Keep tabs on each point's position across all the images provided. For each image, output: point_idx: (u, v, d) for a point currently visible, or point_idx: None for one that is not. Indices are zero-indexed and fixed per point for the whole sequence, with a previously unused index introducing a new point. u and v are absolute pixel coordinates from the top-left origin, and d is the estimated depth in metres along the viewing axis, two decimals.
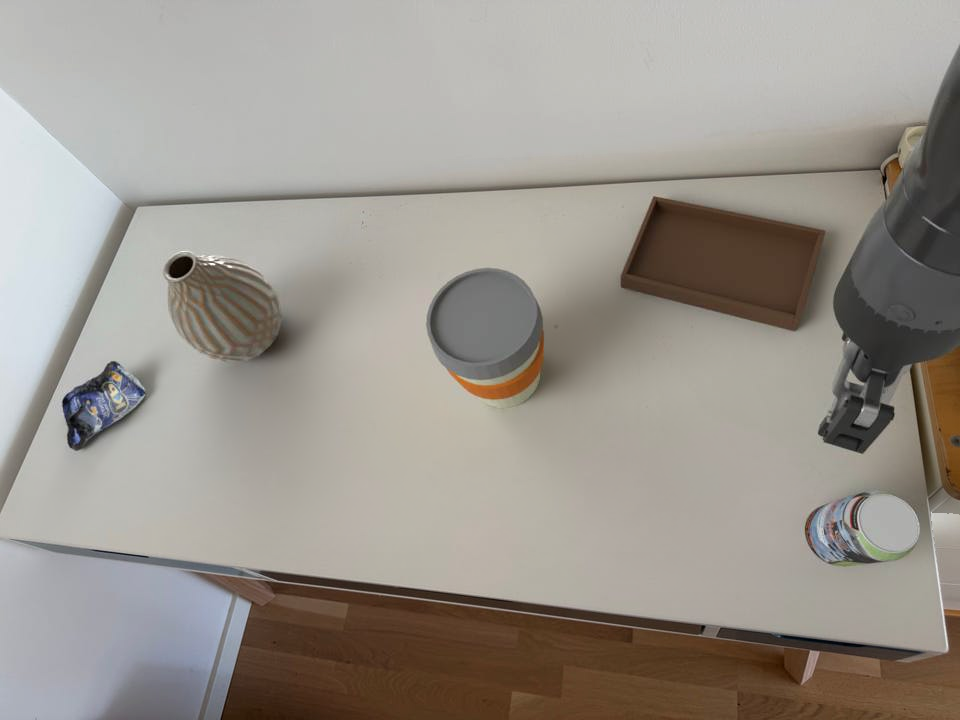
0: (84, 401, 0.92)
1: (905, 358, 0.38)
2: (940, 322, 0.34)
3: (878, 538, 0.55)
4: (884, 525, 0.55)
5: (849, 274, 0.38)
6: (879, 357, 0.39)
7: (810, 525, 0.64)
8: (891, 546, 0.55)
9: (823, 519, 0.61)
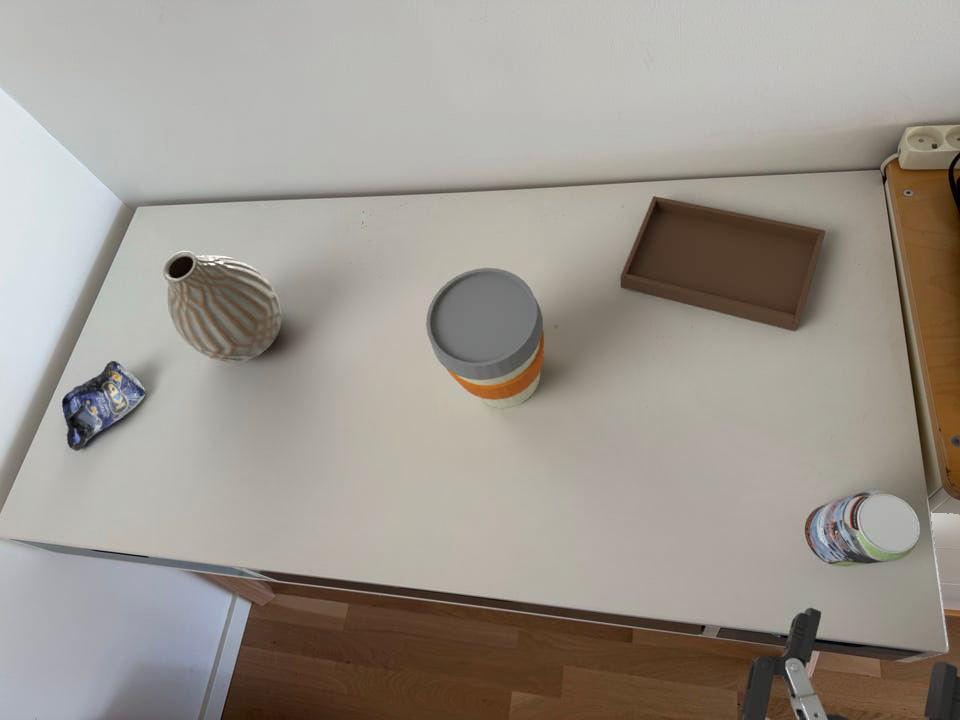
0: (84, 400, 0.92)
1: None
2: None
3: (878, 538, 0.55)
4: (884, 525, 0.55)
5: None
6: None
7: (810, 525, 0.64)
8: (891, 546, 0.55)
9: (823, 519, 0.61)
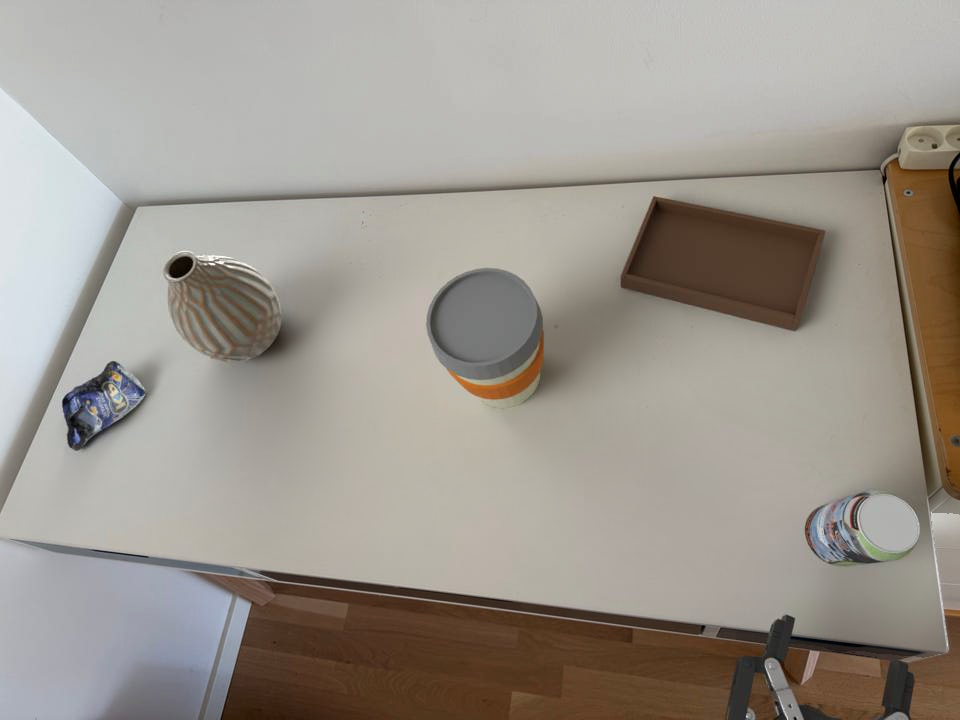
0: (84, 400, 0.92)
1: None
2: None
3: (878, 538, 0.55)
4: (884, 525, 0.55)
5: None
6: None
7: (810, 525, 0.64)
8: (891, 546, 0.55)
9: (823, 519, 0.61)
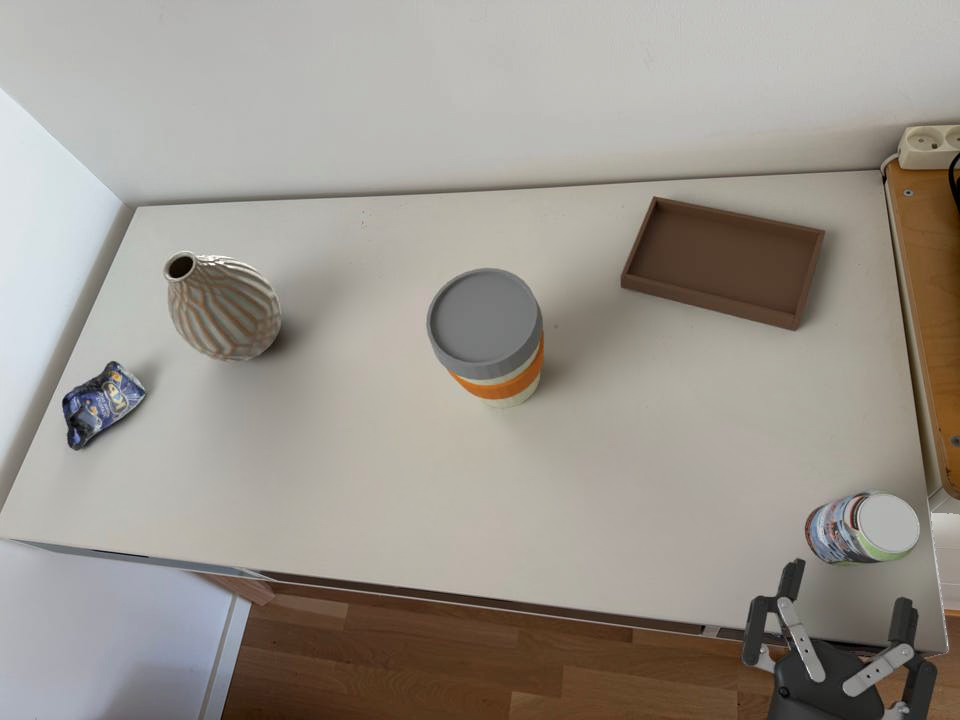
0: (84, 400, 0.92)
1: None
2: None
3: (878, 538, 0.55)
4: (884, 525, 0.55)
5: None
6: None
7: (810, 525, 0.64)
8: (891, 546, 0.55)
9: (823, 519, 0.61)
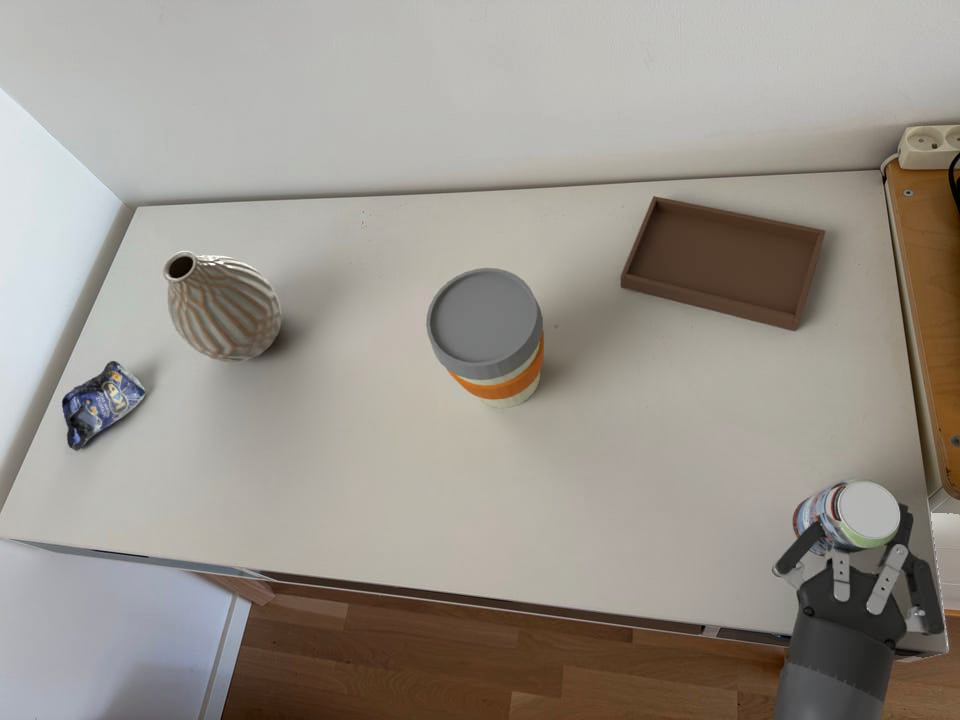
0: (84, 400, 0.92)
1: (892, 662, 0.54)
2: None
3: (860, 526, 0.55)
4: (865, 512, 0.56)
5: None
6: None
7: (797, 520, 0.65)
8: (875, 532, 0.55)
9: (807, 513, 0.62)
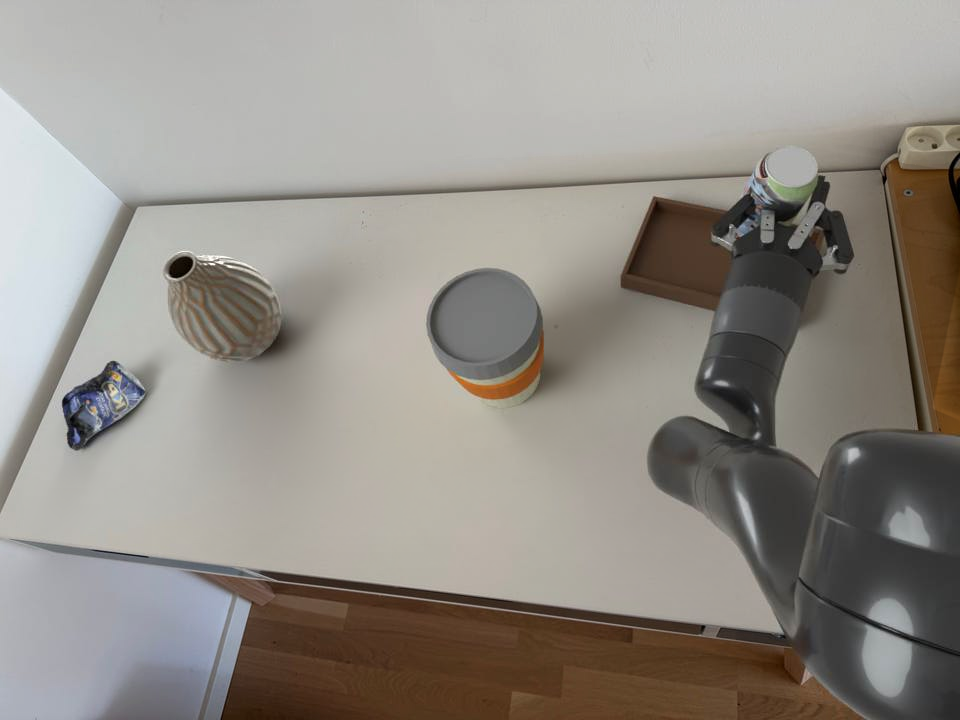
0: (84, 400, 0.92)
1: (810, 285, 0.62)
2: (798, 321, 0.60)
3: (784, 178, 0.63)
4: (788, 168, 0.64)
5: None
6: None
7: None
8: (796, 182, 0.63)
9: None
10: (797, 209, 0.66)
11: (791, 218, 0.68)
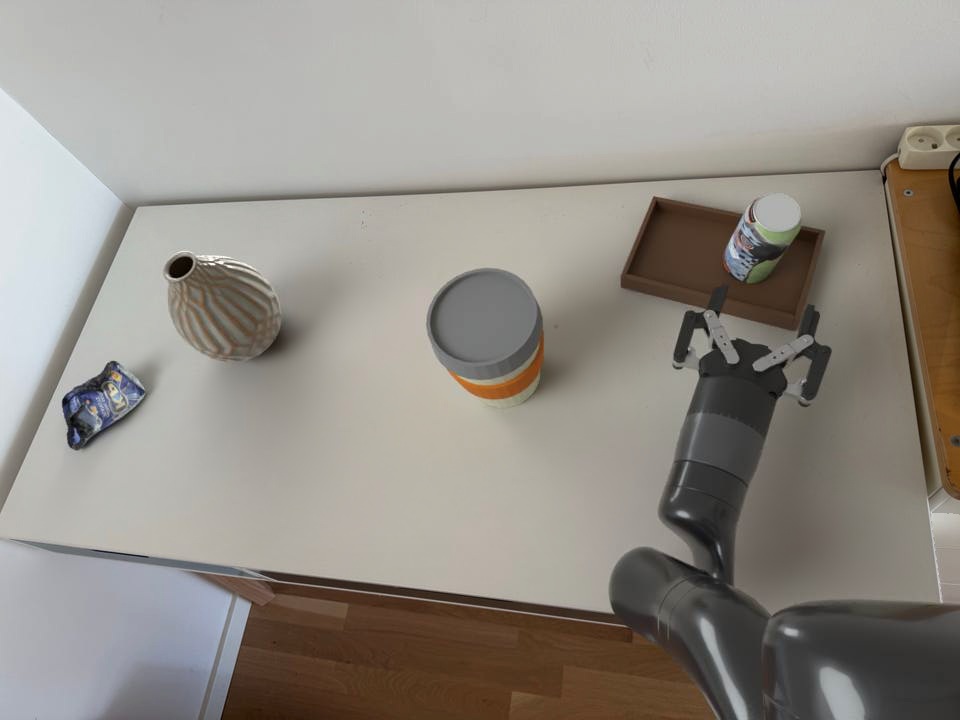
0: (84, 400, 0.92)
1: (773, 409, 0.62)
2: (761, 447, 0.61)
3: (770, 223, 0.70)
4: (774, 214, 0.70)
5: None
6: None
7: (725, 253, 0.79)
8: (781, 227, 0.69)
9: (732, 238, 0.76)
10: (783, 250, 0.72)
11: (778, 257, 0.74)
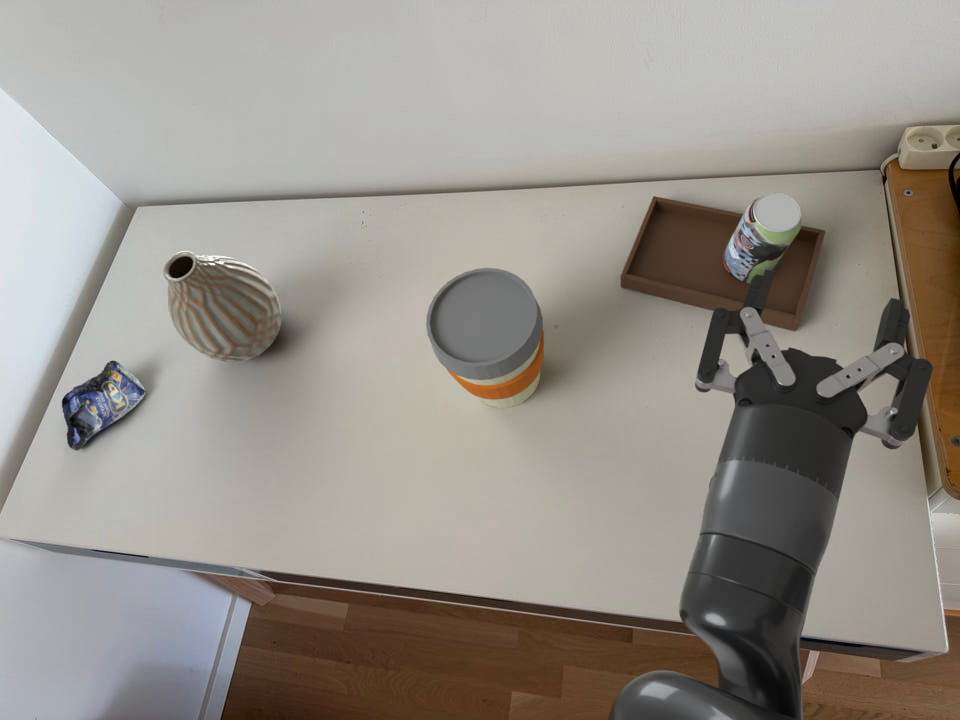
0: (84, 400, 0.92)
1: (849, 454, 0.42)
2: None
3: (770, 223, 0.70)
4: (774, 214, 0.70)
5: None
6: None
7: (725, 253, 0.79)
8: (781, 227, 0.69)
9: (732, 238, 0.76)
10: (783, 250, 0.72)
11: (778, 257, 0.74)
